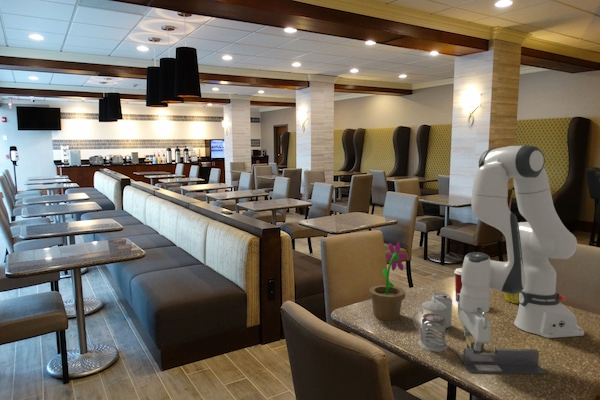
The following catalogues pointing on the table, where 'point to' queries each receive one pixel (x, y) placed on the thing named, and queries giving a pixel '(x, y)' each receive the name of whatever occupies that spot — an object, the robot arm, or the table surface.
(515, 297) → the food
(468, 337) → the clip
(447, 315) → the can
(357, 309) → the table surface
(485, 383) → the table surface
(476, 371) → the rail
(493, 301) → the table surface
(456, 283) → the paper cup
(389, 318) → the flowerpot
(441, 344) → the french press
